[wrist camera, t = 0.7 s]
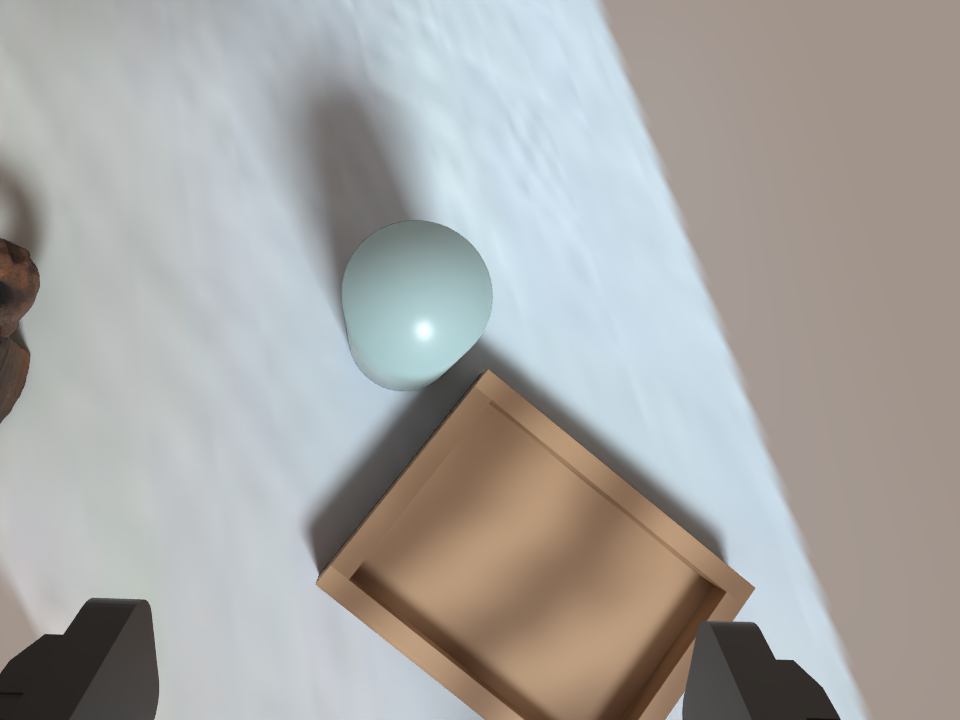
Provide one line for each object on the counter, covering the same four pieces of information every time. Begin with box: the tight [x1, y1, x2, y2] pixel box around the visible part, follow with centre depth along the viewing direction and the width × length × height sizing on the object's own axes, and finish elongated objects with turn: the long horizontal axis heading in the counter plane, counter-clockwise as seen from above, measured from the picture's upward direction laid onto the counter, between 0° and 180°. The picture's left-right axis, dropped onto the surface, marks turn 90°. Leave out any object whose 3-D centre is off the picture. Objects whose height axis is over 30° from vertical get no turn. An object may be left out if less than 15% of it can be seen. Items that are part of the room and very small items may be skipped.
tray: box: [316, 369, 755, 720], centre depth 36 cm, size 16×12×2 cm
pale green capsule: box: [342, 220, 493, 391], centre depth 33 cm, size 5×5×11 cm
